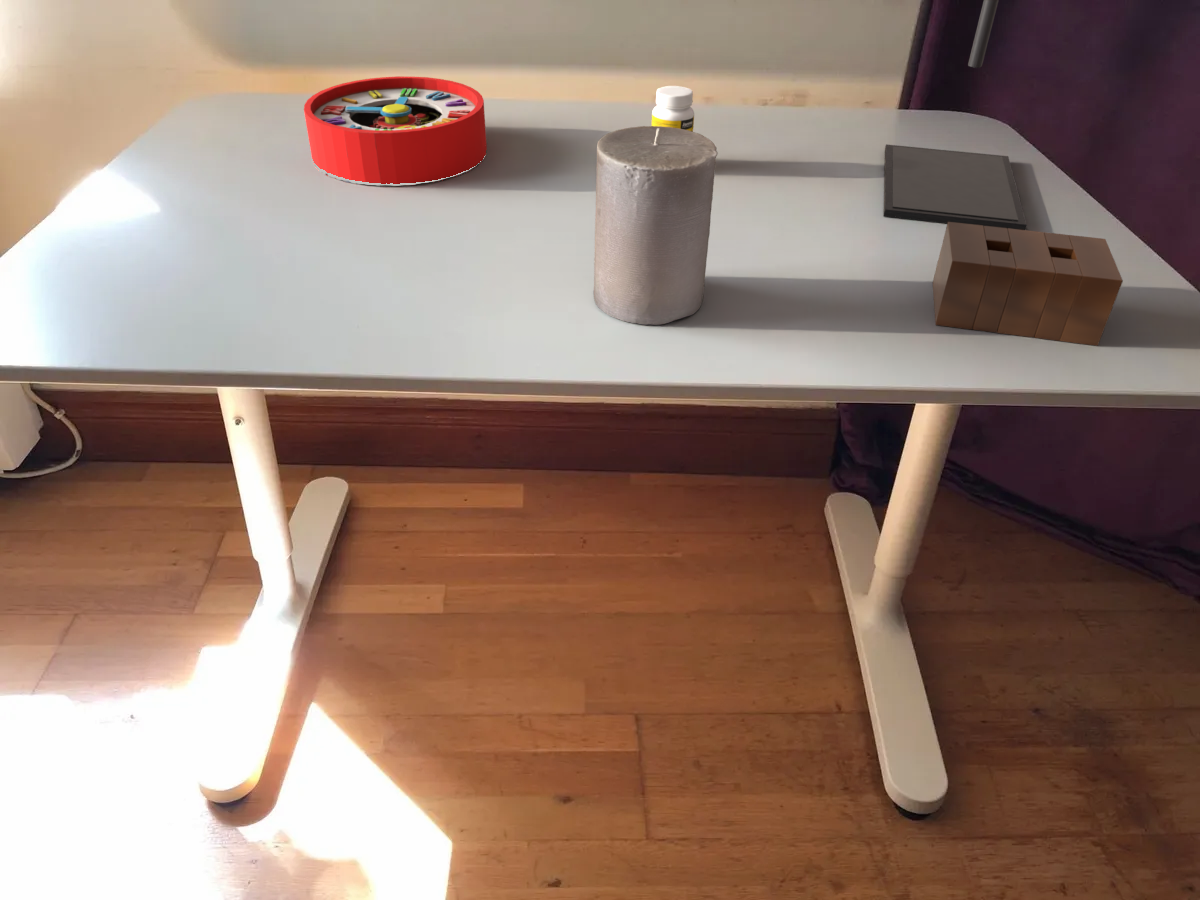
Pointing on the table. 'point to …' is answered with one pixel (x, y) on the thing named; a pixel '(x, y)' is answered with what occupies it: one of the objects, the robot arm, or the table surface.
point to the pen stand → (1025, 283)
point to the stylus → (982, 33)
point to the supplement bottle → (674, 108)
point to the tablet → (951, 187)
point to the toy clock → (396, 129)
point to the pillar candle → (652, 222)
